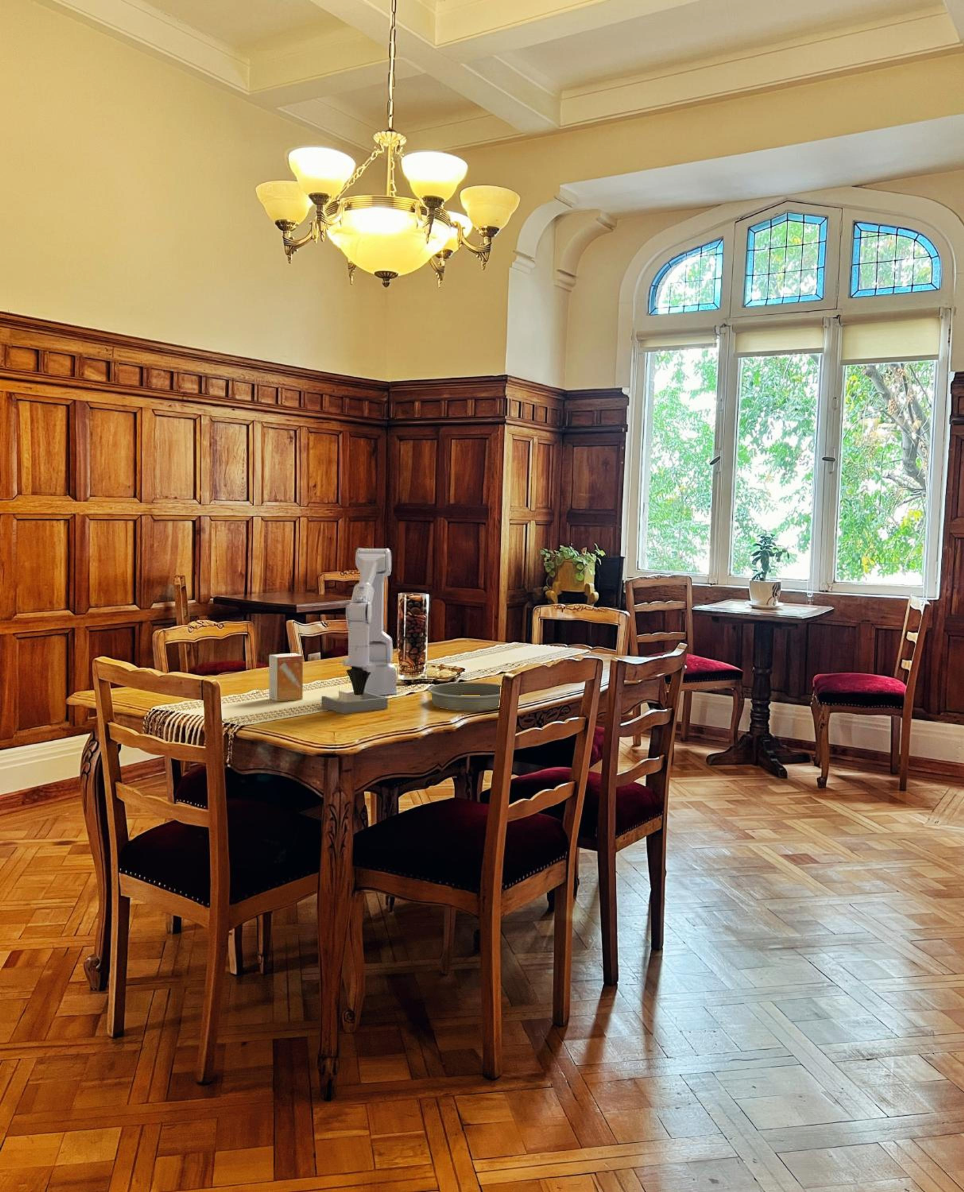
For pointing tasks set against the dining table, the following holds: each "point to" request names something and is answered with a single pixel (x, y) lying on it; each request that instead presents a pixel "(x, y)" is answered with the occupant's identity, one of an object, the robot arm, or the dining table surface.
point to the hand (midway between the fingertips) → (358, 694)
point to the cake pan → (452, 698)
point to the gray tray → (356, 704)
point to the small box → (286, 677)
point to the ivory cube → (348, 696)
